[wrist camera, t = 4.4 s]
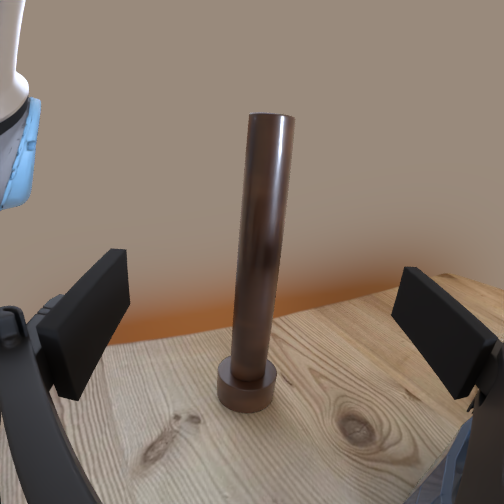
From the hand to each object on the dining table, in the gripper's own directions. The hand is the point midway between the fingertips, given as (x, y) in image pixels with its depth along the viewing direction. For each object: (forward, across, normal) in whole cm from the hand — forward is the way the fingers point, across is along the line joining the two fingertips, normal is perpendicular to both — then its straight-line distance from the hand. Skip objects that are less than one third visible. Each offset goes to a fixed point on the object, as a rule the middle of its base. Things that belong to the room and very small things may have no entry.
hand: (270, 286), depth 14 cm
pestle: (+6, 0, -12) cm, 13 cm away
